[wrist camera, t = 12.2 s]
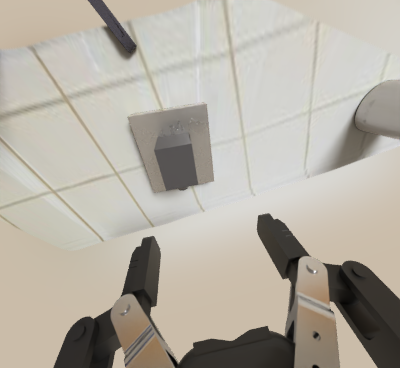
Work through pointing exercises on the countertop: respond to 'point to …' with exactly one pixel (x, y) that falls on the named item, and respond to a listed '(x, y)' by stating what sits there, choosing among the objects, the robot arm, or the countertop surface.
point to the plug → (176, 161)
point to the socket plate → (170, 125)
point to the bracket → (113, 24)
